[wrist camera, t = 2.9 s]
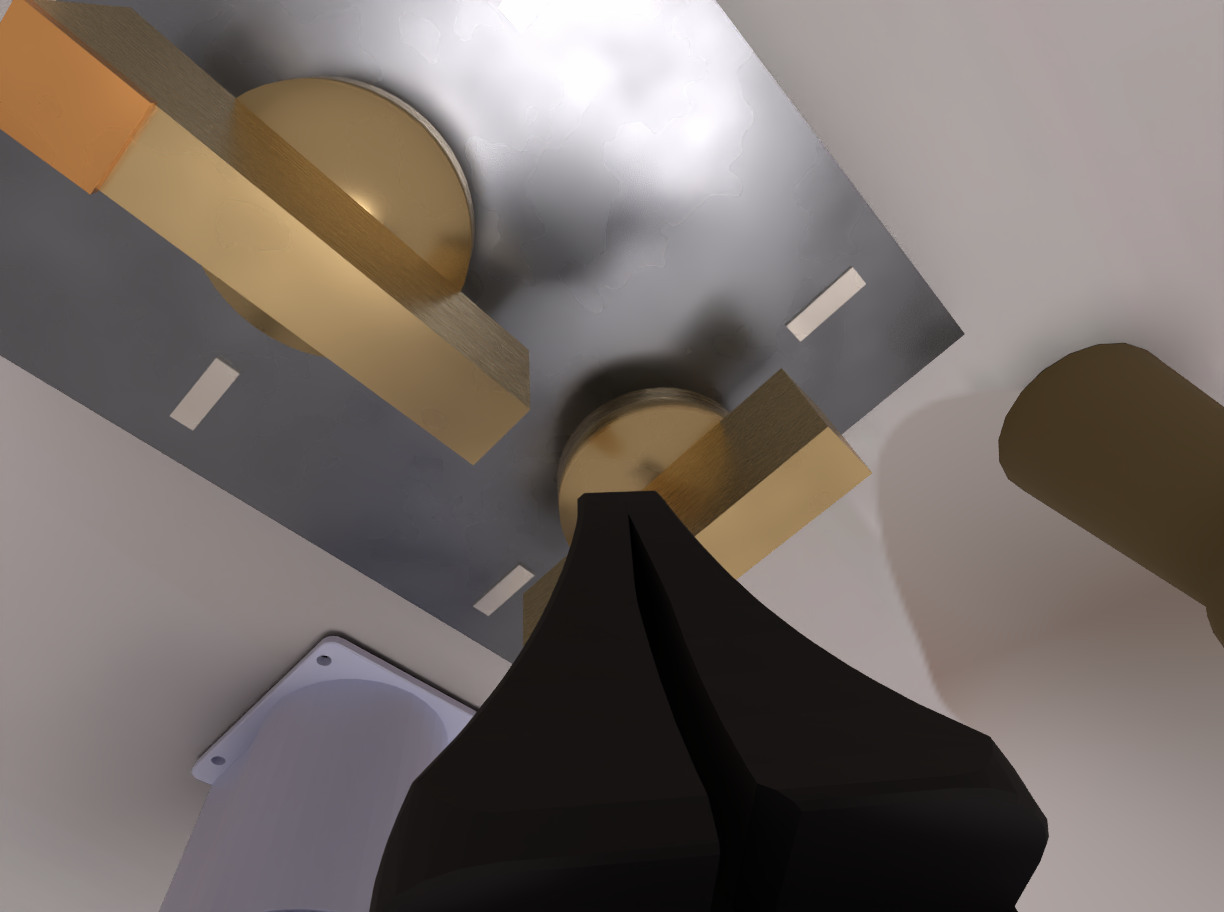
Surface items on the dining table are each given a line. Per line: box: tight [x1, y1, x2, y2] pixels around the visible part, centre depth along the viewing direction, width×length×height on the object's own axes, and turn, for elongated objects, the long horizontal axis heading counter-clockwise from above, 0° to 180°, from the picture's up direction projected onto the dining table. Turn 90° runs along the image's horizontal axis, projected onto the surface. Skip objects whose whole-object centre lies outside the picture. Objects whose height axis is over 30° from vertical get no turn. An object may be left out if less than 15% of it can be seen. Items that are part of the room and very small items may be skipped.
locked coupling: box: [523, 368, 872, 647], centre depth 20 cm, size 6×10×5 cm, turn 134°
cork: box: [999, 343, 1224, 647], centre depth 20 cm, size 6×6×11 cm
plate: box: [0, 0, 964, 664], centre depth 20 cm, size 19×22×2 cm
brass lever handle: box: [0, 0, 530, 465], centre depth 15 cm, size 6×10×5 cm, turn 44°
